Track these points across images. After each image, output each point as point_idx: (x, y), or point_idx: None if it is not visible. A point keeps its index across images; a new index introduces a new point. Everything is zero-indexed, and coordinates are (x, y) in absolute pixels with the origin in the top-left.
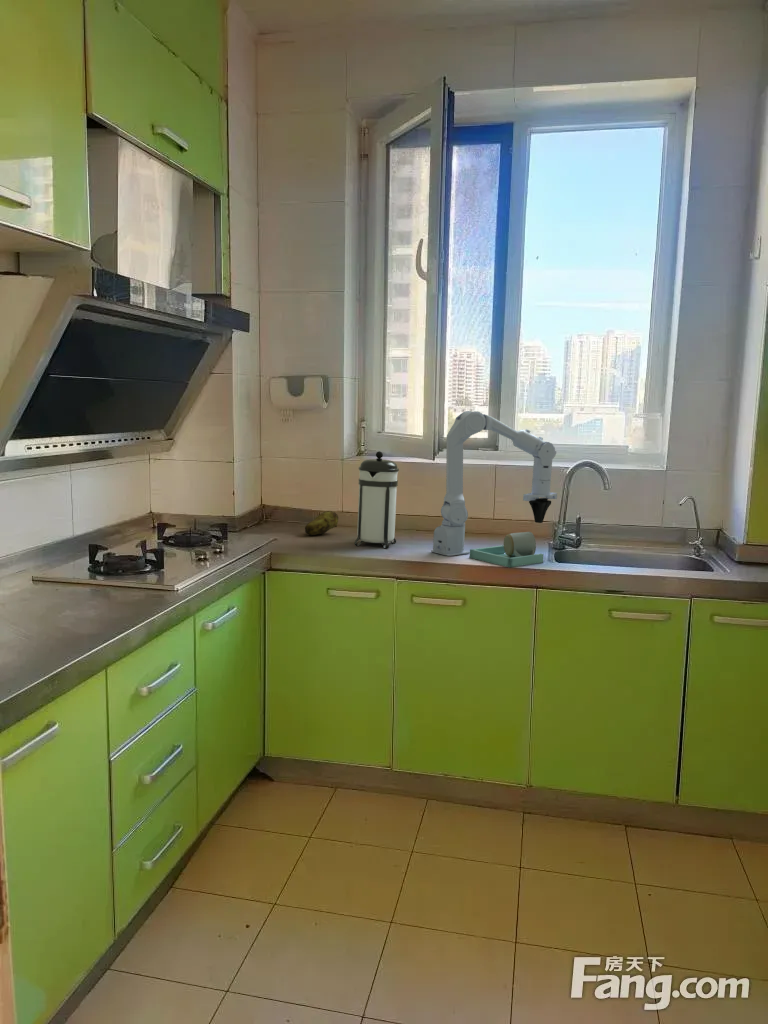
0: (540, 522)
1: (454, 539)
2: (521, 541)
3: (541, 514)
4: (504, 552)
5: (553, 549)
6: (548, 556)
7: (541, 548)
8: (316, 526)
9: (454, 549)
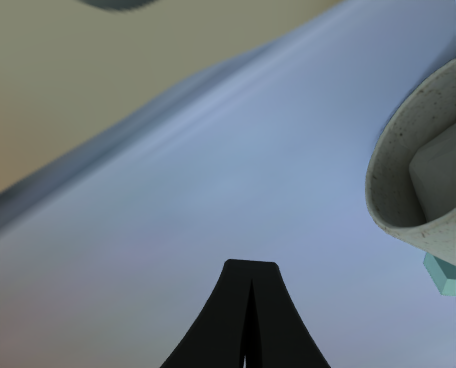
0: (270, 264)
1: None
2: None
3: (297, 331)
4: None
5: (28, 175)
6: (263, 48)
7: (78, 228)
8: None
9: None
